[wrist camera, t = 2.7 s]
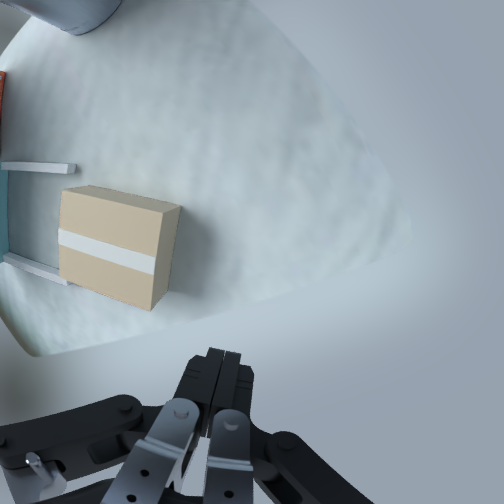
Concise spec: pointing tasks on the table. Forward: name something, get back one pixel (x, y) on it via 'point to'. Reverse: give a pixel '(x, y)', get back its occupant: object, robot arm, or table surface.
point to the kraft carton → (117, 243)
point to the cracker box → (1, 87)
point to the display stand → (3, 254)
